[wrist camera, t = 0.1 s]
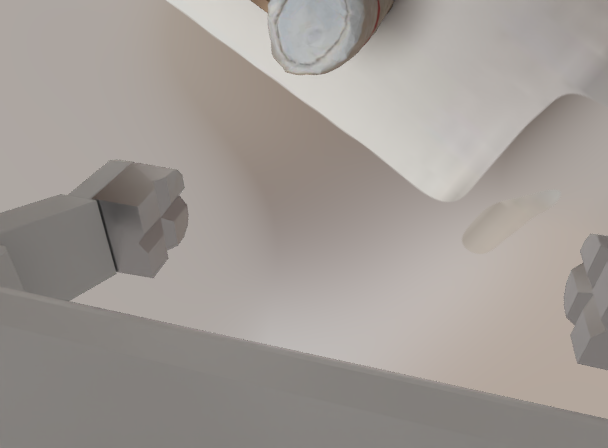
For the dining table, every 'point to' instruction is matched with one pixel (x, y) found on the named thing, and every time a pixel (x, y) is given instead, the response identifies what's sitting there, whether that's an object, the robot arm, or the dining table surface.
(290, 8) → the spray can
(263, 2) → the walnut trough
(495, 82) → the dining table surface
